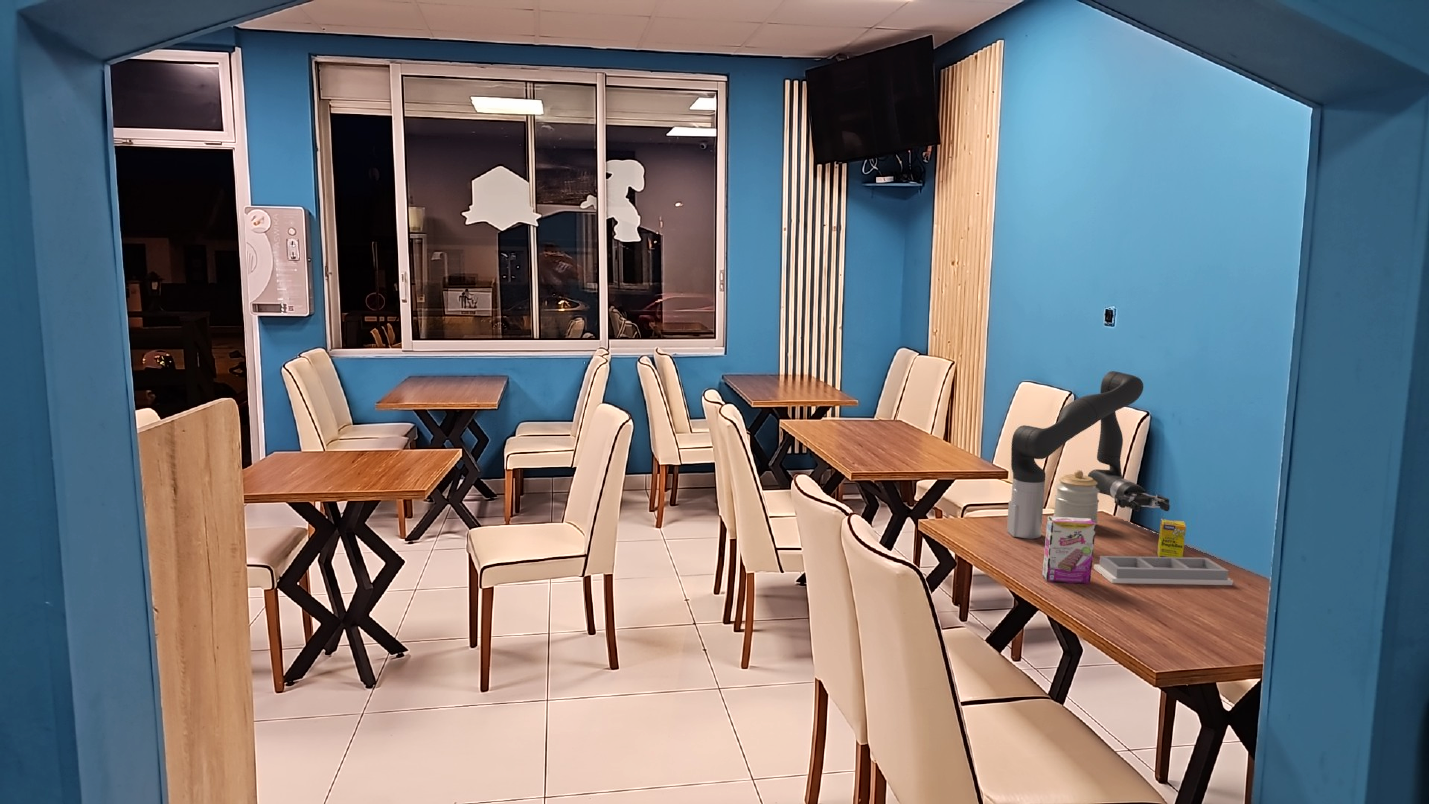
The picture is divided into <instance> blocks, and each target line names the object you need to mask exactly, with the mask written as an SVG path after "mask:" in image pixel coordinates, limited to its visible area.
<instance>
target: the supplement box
mask: <svg viewBox="0 0 1429 804" xmlns="http://www.w3.org/2000/svg"><path fill="white" fill-rule="evenodd" d="M1186 530H1187V526H1186V523H1185V521H1184V520H1183V521H1182V520H1171V519H1165V518H1160V525H1159V533H1158V534H1159V535H1158V543H1157V554H1156V557H1184V548H1185V539H1186V538H1185V537H1186Z"/></svg>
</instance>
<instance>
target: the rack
mask: <svg viewBox="0 0 1429 804" xmlns="http://www.w3.org/2000/svg"><path fill="white" fill-rule="evenodd" d="M1093 569H1094V570H1095V571H1096V572H1098V573H1099V574H1100V575H1101V574H1102V575H1101V576H1103V577H1104V578H1105V579H1106V580H1108V581H1109V582H1110V584H1111V583H1112V584H1141V585H1143V584H1147V585H1149V584H1151V585H1155V584H1156V585H1204V586H1205V585H1206V586H1207V585H1210V586H1213V585H1214V586H1215V585H1216V586H1233V583H1234V580H1233V579H1232V578H1230V577H1229V569H1226V568H1225V567H1224V566H1221V565H1219V564H1218V563H1216V562H1215V561H1213V560H1211V559H1210V558H1208V557H1193V556H1192V557H1190V556H1189V557H1184V556H1183V557H1158V556H1130V555H1129V556H1128V555H1127V556H1124V555H1123V556H1120V555H1119V556H1118V555H1100V556H1099V563H1097V564H1095V563H1094V564H1093Z"/></svg>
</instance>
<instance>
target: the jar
mask: <svg viewBox="0 0 1429 804" xmlns="http://www.w3.org/2000/svg"><path fill="white" fill-rule="evenodd" d="M1058 481H1059V483H1057V484H1056V485H1055V488H1056V494H1055V495H1054V498H1055V499H1054V513H1053V517H1071V518H1089V519H1091V520H1092V521H1094V522H1095V523H1096V525H1097V524H1098V510H1099V509H1098V508H1099V502H1100V501H1099V497H1098V494H1100V493H1099V492H1100V490H1099V489H1098V488H1097V487H1096V485H1097V484H1098V483H1097V482H1096V481H1095V480H1093V478H1091V477H1088V475H1084V472H1083V471H1082V470H1080V469H1077V470H1075V472H1074V474H1065V475H1063V476H1062V477H1060V478H1058Z"/></svg>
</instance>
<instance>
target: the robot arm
mask: <svg viewBox="0 0 1429 804" xmlns="http://www.w3.org/2000/svg"><path fill="white" fill-rule="evenodd" d="M1099 391H1100V393H1095V394H1088V395H1084V396H1081V397H1078V398H1076V399H1074V400H1073V401H1071V402H1069V403H1067V404H1066V405H1065V406H1064V407H1062V409H1061V410H1060V413H1059V415H1058V420H1057V422H1055V423H1054V424H1052V425H1051V426H1048V427H1044V428H1043V427H1042V428H1041V427H1036V426H1032V425H1026V424H1025V425H1020V426H1018V427H1017V428H1016V429H1015V431H1014V432H1013V434H1012V438H1011V448H1010V449H1011V451H1010V453H1011V455H1010V456H1011V459H1010V467H1011V472H1012V484H1011V485H1012V486H1011V500H1009V501H1008V507H1007V508H1008V509H1007V510H1008V511H1007V524H1006V532H1007V533H1008V534H1009V535H1010V536H1012V537H1014V538H1015V537H1016V538H1021V539H1022V538H1023V539H1038V538H1041V536H1042V528H1043V527H1042V526H1043V525H1042V524H1043V513H1044V512H1043V511H1044V501H1045V498H1044V497H1045V487H1046V470H1044V469H1042V467H1040V466H1039V465H1038V464H1037V462H1036V461H1035V460H1044V459H1046V458H1048V457H1049V456H1051V455H1053V453H1055V452H1056V451H1057V450H1058V449H1060V448H1061V447H1062V446H1063V445H1065V444H1066V443H1067V442H1068V441H1070V440H1071V439H1072V438H1074V437H1076V436H1077V435H1079V434H1080V433H1082V432H1084V431H1086V430H1087V429H1089V428H1090V427H1092V426H1094V425H1095V424H1096V423H1098V422H1099V421H1100V433H1099V434H1100V435H1099V440H1098V447H1097V453H1096V459H1097V461H1098V462H1099V463H1100V464H1104V465H1108V466H1109V469H1099V468H1098V469H1093V470H1091V471H1090V472H1089V473H1087V474H1088V475H1087V476H1088V477H1091V478H1093V480H1095V481H1096V482H1097V483H1098V484H1097V485H1096V487H1097V488H1098V489H1099V490H1100V492H1099V493H1098V494H1102V495H1107V496H1110V497H1111V498H1112V499H1114V502H1113V503H1114V504H1116V505H1117V506H1118V507H1120V508H1121V509H1125V508H1127V509H1130V510H1133V511H1135V512H1140V510H1141V509H1140V508H1141V507H1144V508H1145V507H1146V508H1151V509H1155V508H1158V509H1161V510H1163V511H1165V512H1169V511H1170V507H1171V505H1170V499H1169V498H1167V497H1165V496H1163V495H1161V494H1156V496H1155V495H1151V494H1148V493H1147V492H1146V490H1145V489H1144V487H1142V486H1140V485H1138V484H1136V483H1135V482H1133V481H1132V480H1128V479H1125V478H1124V477H1123V475H1122V466H1121V456H1122V451H1123V444H1124V438H1123V437H1124V436H1123V433H1122V430H1121V426H1120V424H1119V421H1118V418H1117V414H1116V412H1118V411H1119V410H1121V409H1123V408H1126V407H1128V406H1130V405H1132V404H1133V403H1135V402H1136V401H1137V400H1138V399H1139V398H1140V397H1141V396H1142V394H1143V392H1144V383H1143V381H1142V379H1141V378H1139V377H1138V376H1136V375H1134V374H1133V375H1132V374H1128V373H1123V372H1119V371H1115V370H1111V371H1109V372H1107V373H1106V374H1104V377H1102V381H1101V384H1100V390H1099Z"/></svg>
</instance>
